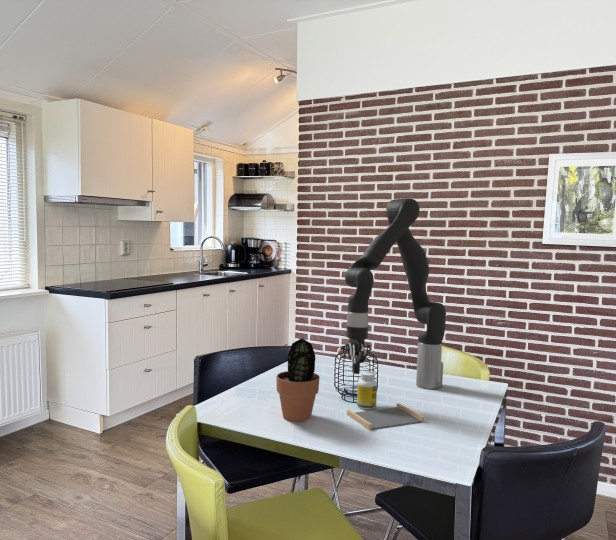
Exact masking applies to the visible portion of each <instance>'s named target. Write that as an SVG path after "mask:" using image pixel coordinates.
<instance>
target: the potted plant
mask: <svg viewBox="0 0 616 540" xmlns="http://www.w3.org/2000/svg"><path fill="white" fill-rule="evenodd" d="M288 351H289V352H288V353H287V370H286V371H283V372H282V371H281V372H279V373H277V374H276V376H275V377H276V392H277V394H278V395H279V396H278V397H279V401H280V408H281V412H282V417H283V419H285V420H286V421H290V422H297V423H299V422H307V421H309V420H310V419H311V418H312V415H313V414H312V413H313V409H314V406H315V400H316V395H317V394H319V389H320V388H319V387H320V375H319V374H318V373H315V371H316V354H315V350H314V348H313V344H312V343H311V342H309V341H307V340H306V339H304V338H303V337H301V338H300V339H297V340H296V341H294V342H292V343H291V346H290V349H289V350H288Z"/></svg>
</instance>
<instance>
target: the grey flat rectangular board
mask: <svg viewBox="0 0 616 540" xmlns="http://www.w3.org/2000/svg"><path fill="white" fill-rule="evenodd" d="M346 415H347V416H348V417H349V416H350V417H349V418H351V419H353V420H354V421H355V422H357V423H358V424H360V425H361V426H363V427H364V428H366V429H367V430H369V431H371V430H378V429H384V428H385V429H386V428H391V427H400V426H404V425H405V426H407V425H411V424H419V423H425V416H424V415H422V414H420V413H418V412H416V411H414V410H413V409H410V408H408V407H407V406H405V405H404V404H402V403H400V402H399V403H396V406H395V407H388V408H386V407H385V408H379V409H370V410H364V411H362V410H361V411H355V412H354V411H353V410H352V409H346Z"/></svg>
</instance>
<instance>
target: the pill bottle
mask: <svg viewBox="0 0 616 540" xmlns="http://www.w3.org/2000/svg"><path fill="white" fill-rule="evenodd" d="M375 375H376V374H375V373H374V372H372V371H362V372H360V379H359V380H358V381H357V396H356V397H357V399H356V401H357V402H356V403H357V404H356V406H357V408H359V409H362V410H365V411H370V410H375V408H377V397H378V396H377V395H378V394H377V392H378V391H377V390H378V382H377V381H376V380H375Z"/></svg>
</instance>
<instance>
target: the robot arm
mask: <svg viewBox="0 0 616 540" xmlns="http://www.w3.org/2000/svg"><path fill="white" fill-rule="evenodd" d="M385 209H386V210H385V212H386V218H387V221H388V223H389V226H388V227H387V228H386V229H384V230H383V231H382V232H381V233H379V234H378V235H377V236H376V237H374V239H372V241H371V242H370V243H369V245H368V246H367V247H366V249H364V252H363V254H362V255H361V256H360V257H359V258H358V259H356V260H355V261H353V263H352V264H351V265H350V266H349V268H348V269H347V270H346V273H345V275H344V281H345V283H346V285H347V286H348V287H351V288H355V293H354V294H351V295H349V297H348V304H347V314H346V315H347V317H346V338H348V339H349V340H348V343H345V348H346V353H347V356H348V360H349V361H350V362H351V363H352V365H351V367H352V368H351V369H352V370H351V372H352V374H353V375H359V374H361V372H360V370H361V368H360V367H361V364H362V363H364V362H365V360H366V358H367V357H368V355H369V350H368V349H367V350H366V348H365V347H366V343H365V340H367V339H369V338H368V337H369V300H370V297H371V294H372V289H373V286H374V274H373V272H372V271H371V270H374V269H378V268H379V266H381V264H382V262H383V261H384V259H385V258H386V257H387V255H388V253H389V252H390V250H391V249H392V248H393V246H394V245H395V244H396V245H397V248H398V251H399V254H400V258H401V262H402V266H403V270H404V273H405V276H406V278H407V283H408V286H409V292H410V295H411V301H412V309H413V312H414V316H415V319H416V320H417V322H419V323H420V324H423V325H427V326H426V330H425V332H422V333H419V335H418V336H417V352H416V353H417V357H416V358H417V359H416V376H415V377H416V378H415V380H416V381H415V385H416V386H417V387H419V388H422V389H429V390H436V389H439V388H441V387H443V381H444V380H443V378H444V377H443V376H444V362H443V361H442V357H443V356H442V353H443V352H442V351H443V339H444V336H445V332H446V322H447V309H446V307H445V305H444V304H443V303H441V302H437V301H430V299H429V297H428V293H427V288H426V287H427V281H428V279H429V275H430V265H429V261H428V258H427V254H426V252H425V250H424V248H423V247H422V246H421V244H420V243H419V241H418V240H417V239H415V237H414V235H413V234H412V232H411V231H410V227H411V226H412V225H413V224H414V223H415V222H416V221H417V219H418V218H419V215H420V204H419V202H418V201H417V200H416V199H414V198H411V197H410V198H408V197H407V198H406V197H405V198H404V197H403V198H395V199H391V200H390V201H388V203H387V205H386V208H385ZM353 370H354V373H353Z"/></svg>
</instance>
